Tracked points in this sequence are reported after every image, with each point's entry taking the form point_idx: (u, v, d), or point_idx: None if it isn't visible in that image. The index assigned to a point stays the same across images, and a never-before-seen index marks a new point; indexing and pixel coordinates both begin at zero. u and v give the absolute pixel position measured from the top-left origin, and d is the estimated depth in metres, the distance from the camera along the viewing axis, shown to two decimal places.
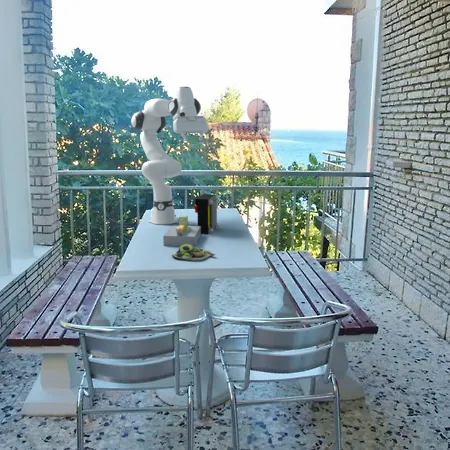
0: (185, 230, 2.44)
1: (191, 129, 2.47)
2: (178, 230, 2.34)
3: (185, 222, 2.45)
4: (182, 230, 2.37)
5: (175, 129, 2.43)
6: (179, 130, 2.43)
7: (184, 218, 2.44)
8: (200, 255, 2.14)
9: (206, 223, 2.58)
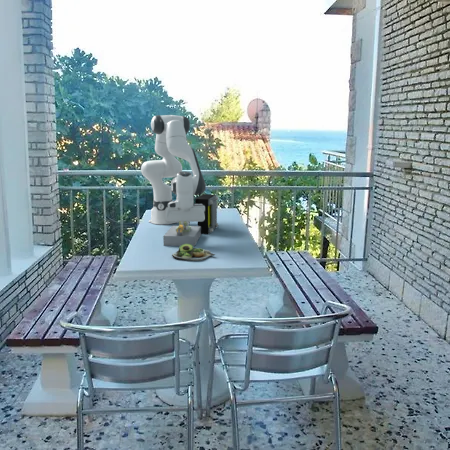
0: (185, 230, 2.44)
1: (182, 219, 2.39)
2: (178, 230, 2.34)
3: (185, 222, 2.45)
4: (182, 230, 2.37)
5: None
6: (168, 220, 2.39)
7: None
8: (200, 255, 2.14)
9: (206, 223, 2.58)
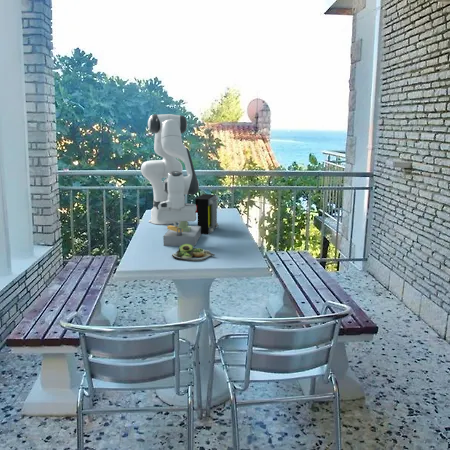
0: (185, 230, 2.44)
1: (174, 219, 2.38)
2: (180, 230, 2.34)
3: (185, 222, 2.45)
4: None
5: None
6: (160, 220, 2.39)
7: None
8: (200, 255, 2.14)
9: (206, 223, 2.58)
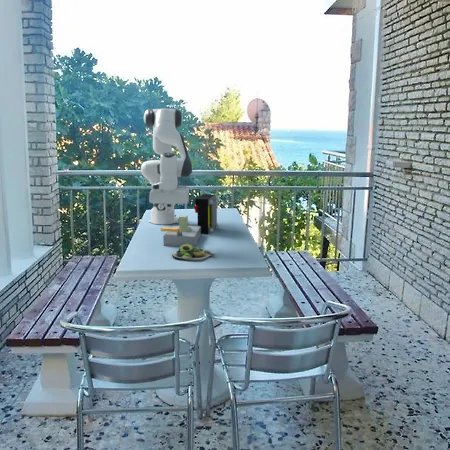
0: (185, 230, 2.44)
1: (166, 201, 2.34)
2: (181, 230, 2.35)
3: (185, 222, 2.45)
4: None
5: None
6: (152, 202, 2.35)
7: (184, 218, 2.44)
8: (200, 255, 2.14)
9: (206, 223, 2.58)
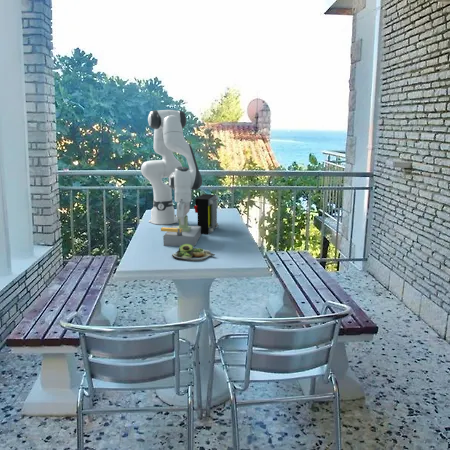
0: (185, 230, 2.44)
1: None
2: (181, 230, 2.35)
3: (185, 222, 2.45)
4: None
5: None
6: None
7: (184, 218, 2.44)
8: (200, 255, 2.14)
9: (206, 223, 2.58)
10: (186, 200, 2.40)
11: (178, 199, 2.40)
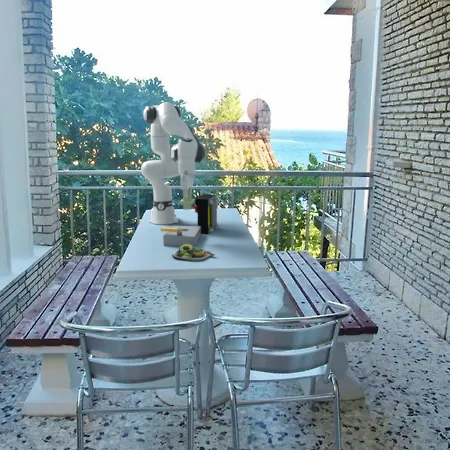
0: (189, 202, 2.40)
1: None
2: (181, 230, 2.35)
3: (189, 194, 2.41)
4: None
5: None
6: None
7: (188, 190, 2.40)
8: (200, 255, 2.14)
9: (206, 223, 2.58)
10: (190, 171, 2.37)
11: (182, 170, 2.37)
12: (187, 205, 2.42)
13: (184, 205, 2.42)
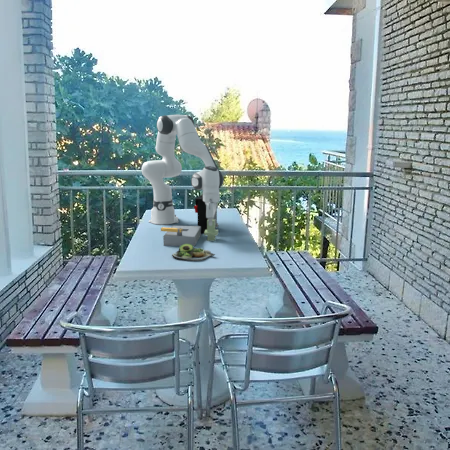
0: (213, 234, 2.43)
1: None
2: (181, 230, 2.35)
3: (213, 226, 2.44)
4: None
5: None
6: None
7: (212, 222, 2.43)
8: (200, 255, 2.14)
9: (206, 223, 2.58)
10: (215, 200, 2.39)
11: (207, 199, 2.39)
12: (211, 236, 2.45)
13: (208, 236, 2.45)
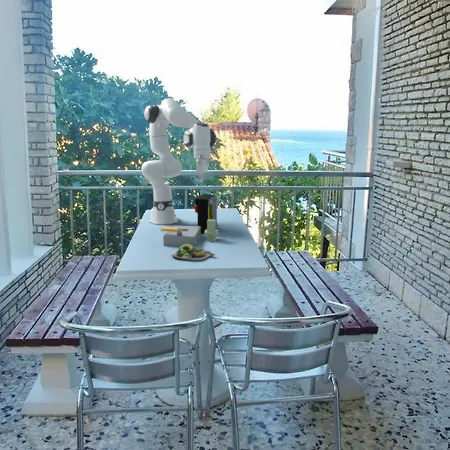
0: (213, 234, 2.43)
1: None
2: (181, 230, 2.35)
3: (213, 226, 2.44)
4: None
5: None
6: None
7: (212, 222, 2.43)
8: (200, 255, 2.14)
9: (206, 223, 2.58)
10: (205, 156, 2.38)
11: (197, 155, 2.37)
12: (211, 236, 2.45)
13: (208, 236, 2.45)
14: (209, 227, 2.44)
